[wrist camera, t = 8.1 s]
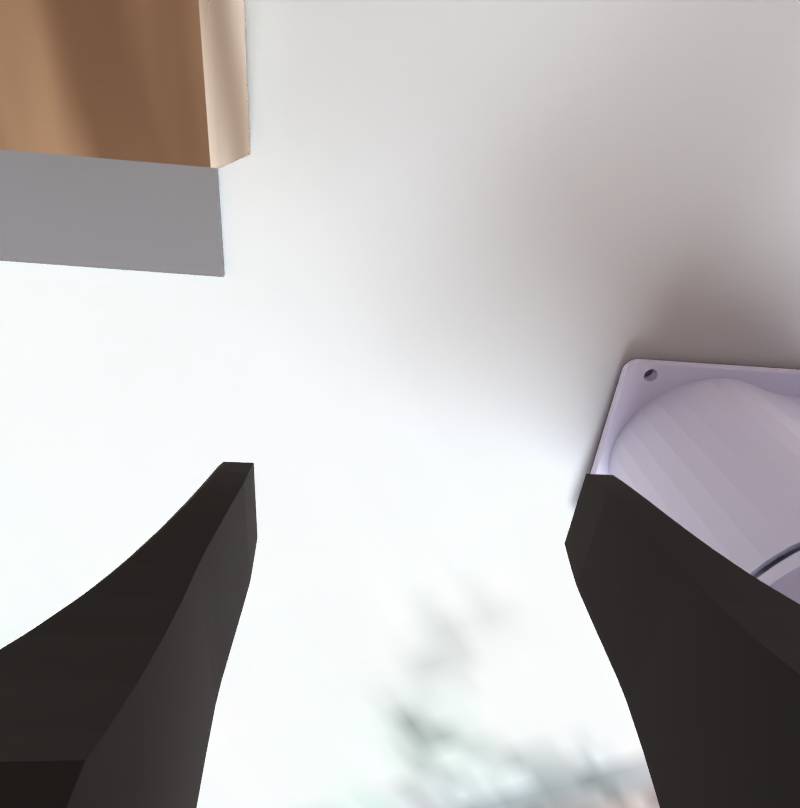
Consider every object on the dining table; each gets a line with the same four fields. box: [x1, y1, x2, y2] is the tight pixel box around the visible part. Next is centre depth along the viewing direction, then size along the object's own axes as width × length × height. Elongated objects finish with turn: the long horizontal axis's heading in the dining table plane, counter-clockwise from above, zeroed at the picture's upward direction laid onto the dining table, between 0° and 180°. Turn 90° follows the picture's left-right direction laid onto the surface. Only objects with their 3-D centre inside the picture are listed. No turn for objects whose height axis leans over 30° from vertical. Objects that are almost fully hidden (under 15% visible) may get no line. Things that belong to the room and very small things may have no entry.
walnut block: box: [0, 0, 250, 168], centre depth 14 cm, size 4×4×7 cm
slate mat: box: [0, 150, 224, 277], centre depth 16 cm, size 10×12×1 cm
